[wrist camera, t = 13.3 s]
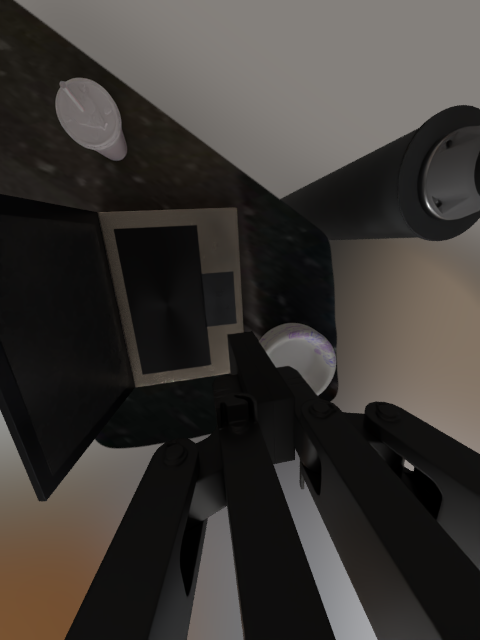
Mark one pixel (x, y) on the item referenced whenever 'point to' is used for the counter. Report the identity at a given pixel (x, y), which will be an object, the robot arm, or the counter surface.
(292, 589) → the robot arm
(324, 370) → the paper bowls
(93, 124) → the smoothie
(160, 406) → the counter surface
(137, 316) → the laptop
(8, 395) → the laptop screen
